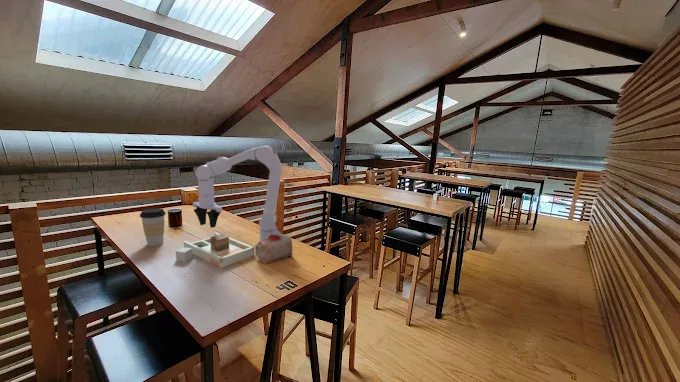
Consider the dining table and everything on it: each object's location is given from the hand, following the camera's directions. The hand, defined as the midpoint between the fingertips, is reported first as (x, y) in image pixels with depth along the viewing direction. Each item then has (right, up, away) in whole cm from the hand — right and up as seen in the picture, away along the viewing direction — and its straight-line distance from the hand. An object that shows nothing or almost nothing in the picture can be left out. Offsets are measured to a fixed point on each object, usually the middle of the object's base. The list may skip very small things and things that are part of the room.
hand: (208, 225), depth 124 cm
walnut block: (+6, -9, -3) cm, 11 cm away
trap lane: (+5, -11, -2) cm, 12 cm away
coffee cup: (-25, -8, +4) cm, 26 cm away
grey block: (-5, -12, -9) cm, 16 cm away
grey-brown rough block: (+29, -13, -5) cm, 32 cm away
